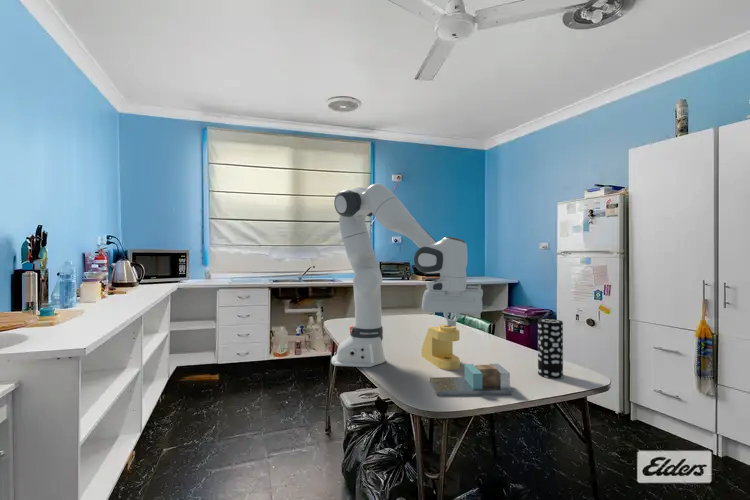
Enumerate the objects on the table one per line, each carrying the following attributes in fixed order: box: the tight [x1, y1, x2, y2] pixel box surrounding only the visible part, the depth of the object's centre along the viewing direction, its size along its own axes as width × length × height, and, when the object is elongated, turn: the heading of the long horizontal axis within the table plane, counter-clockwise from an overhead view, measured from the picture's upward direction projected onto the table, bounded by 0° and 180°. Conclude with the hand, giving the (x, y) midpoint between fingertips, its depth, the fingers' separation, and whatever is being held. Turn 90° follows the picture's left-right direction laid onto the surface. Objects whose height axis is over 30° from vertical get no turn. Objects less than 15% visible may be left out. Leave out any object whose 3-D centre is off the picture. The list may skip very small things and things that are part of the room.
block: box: [474, 364, 497, 386], centre depth 125 cm, size 6×4×6 cm
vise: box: [429, 363, 513, 397], centre depth 125 cm, size 24×13×6 cm, turn 92°
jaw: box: [464, 363, 482, 389], centre depth 125 cm, size 3×10×5 cm, turn 2°
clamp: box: [421, 324, 461, 371], centre depth 153 cm, size 20×9×16 cm, turn 16°
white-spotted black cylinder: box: [537, 318, 564, 380], centre depth 137 cm, size 8×8×20 cm
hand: (451, 325), depth 126 cm, fingers closed
